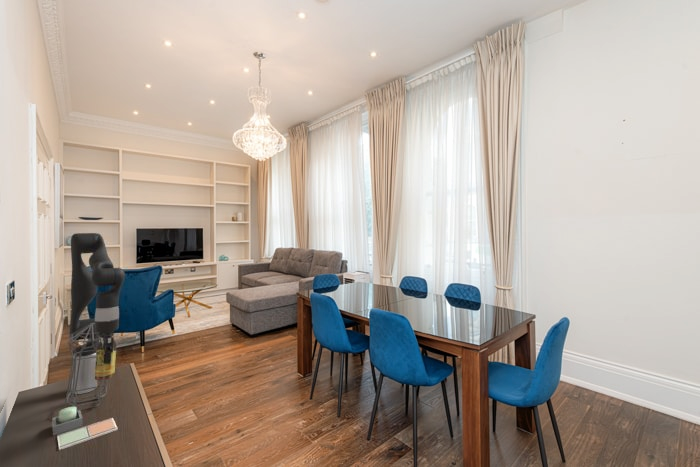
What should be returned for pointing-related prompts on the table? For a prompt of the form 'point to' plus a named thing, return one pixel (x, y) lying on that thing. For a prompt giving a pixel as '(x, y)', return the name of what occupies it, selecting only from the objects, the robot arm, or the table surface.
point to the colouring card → (86, 433)
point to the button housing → (66, 424)
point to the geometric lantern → (73, 366)
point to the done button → (67, 414)
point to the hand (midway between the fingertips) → (105, 360)
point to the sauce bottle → (103, 369)
